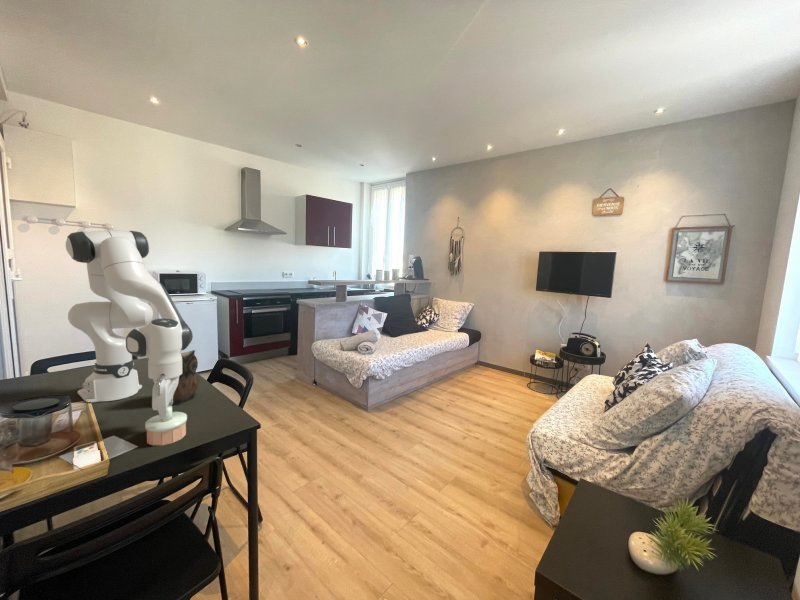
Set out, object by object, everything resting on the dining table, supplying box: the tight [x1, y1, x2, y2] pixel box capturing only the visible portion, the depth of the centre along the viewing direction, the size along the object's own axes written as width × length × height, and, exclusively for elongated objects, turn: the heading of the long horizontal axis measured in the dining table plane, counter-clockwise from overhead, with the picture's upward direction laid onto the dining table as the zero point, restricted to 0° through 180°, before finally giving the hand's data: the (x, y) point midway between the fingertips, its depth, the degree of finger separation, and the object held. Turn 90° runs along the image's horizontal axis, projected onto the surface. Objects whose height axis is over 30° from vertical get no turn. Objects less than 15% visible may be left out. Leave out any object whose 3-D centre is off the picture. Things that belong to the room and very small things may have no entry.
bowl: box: [146, 421, 187, 446], centre depth 104 cm, size 10×10×5 cm
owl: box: [171, 349, 200, 407], centre depth 131 cm, size 13×13×20 cm
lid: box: [144, 406, 188, 432], centre depth 104 cm, size 11×11×5 cm
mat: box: [58, 435, 139, 465], centre depth 95 cm, size 13×13×1 cm
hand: (166, 411), depth 104 cm, fingers open, 8 cm apart
